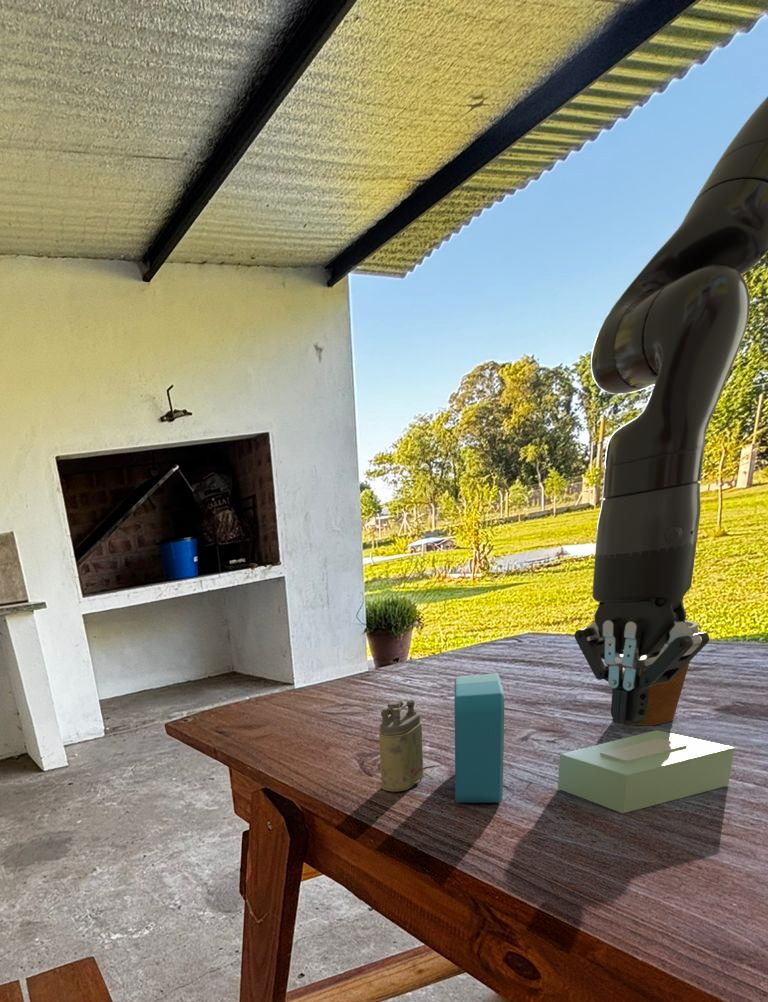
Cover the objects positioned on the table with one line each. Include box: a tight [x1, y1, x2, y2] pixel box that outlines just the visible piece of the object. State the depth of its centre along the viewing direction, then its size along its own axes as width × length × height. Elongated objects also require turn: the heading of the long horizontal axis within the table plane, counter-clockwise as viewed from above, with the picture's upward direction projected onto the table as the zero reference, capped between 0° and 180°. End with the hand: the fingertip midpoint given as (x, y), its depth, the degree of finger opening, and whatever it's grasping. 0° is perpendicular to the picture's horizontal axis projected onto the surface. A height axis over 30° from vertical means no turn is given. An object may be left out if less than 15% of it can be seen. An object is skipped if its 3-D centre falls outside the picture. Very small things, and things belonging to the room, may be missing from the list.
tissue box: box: [557, 729, 735, 814], centre depth 63 cm, size 12×4×8 cm
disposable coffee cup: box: [611, 620, 700, 726], centre depth 79 cm, size 10×10×12 cm
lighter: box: [378, 699, 425, 792], centre depth 74 cm, size 7×4×10 cm, turn 137°
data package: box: [453, 672, 505, 804], centre depth 68 cm, size 12×4×12 cm, turn 156°
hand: (627, 723), depth 63 cm, fingers closed
